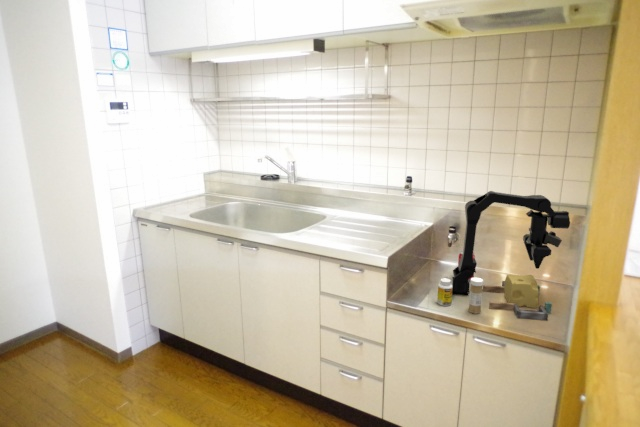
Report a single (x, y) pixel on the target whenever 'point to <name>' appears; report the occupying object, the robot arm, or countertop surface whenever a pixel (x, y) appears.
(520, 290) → the cheese
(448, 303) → the supplement bottle
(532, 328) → the countertop surface
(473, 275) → the soda can
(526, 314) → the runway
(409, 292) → the countertop surface
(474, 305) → the sprinkles bottle
